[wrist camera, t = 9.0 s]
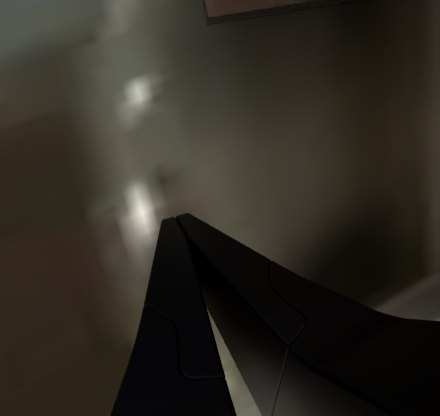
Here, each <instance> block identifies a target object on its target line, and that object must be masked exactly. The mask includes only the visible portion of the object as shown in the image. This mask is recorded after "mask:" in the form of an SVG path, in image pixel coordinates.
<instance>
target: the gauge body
mask: <svg viewBox="0 0 440 416" xmlns="http://www.w3.org/2000/svg"><path fill="white" fill-rule="evenodd" d="M353 1H359V0H203V4H204V9H205V15H206V20H207V25H210V24H217V23H223V22H229V21H235V20H241V19H248V18H254V17H260V16H266V15H272V14H279V13H285V12H291V11H297V10H303V9H310V8H316V7H322V6H328V5H334V4H341V3H347V2H353Z"/></svg>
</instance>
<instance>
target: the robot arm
mask: <svg viewBox="0 0 440 416" xmlns="http://www.w3.org/2000/svg"><path fill="white" fill-rule="evenodd" d="M206 307H207V308H208V310H209V312H210V314H211V316H212V318H213V320H214V322H215V324H216V326H217V328H218V330H219V332H220V334H221V336H222V338H223V340H224V342H225V344H226V346H227V348H228V350H229V352H230V354H231V356H232V358H233V360H234V361H235V363H236V365H237V367H238V369H239V371H240V373H241V375H242V377H243V379H244V381H245V383H246V385H247V387H248V389H249V391H250V393H251V395H252V397H253V399H254V401H255V403H256V405H257V407H258V409H259V411H260V413H261V414H262V416H440V321H429V320H416V319H406V318H400V317H395V316H391V315H388V314H384V313H381V312H378V311H376V310H373V309H371V308H369V307H366V306H364V305H362V304H360V303H358V302H355V301H353V300H351V299H349V298H346V297H344V296H342V295H340V294H338V293H335V292H333V291H331V290H329V289H327V288H324V287H322V286H320V285H318V284H316V283H314V282H312V281H309V280H307V279H305V278H303V277H301V276H299V275H297V274H295V273H294V272H292V271H290V270H288V269H286V268H284V267H282V266H281V265H279V264H277V263H275V262H274V261H270V260H269V259H268V258H266V257H265V256H263V255H261V254H259V253H258V252H256V251H254V250H252V249H251V248H249V247H247V246H245V245H244V244H242V243H240V242H238V241H237V240H235V239H233V238H231V237H230V236H228V235H226V234H224V233H223V232H221V231H219V230H217V229H216V228H214V227H212V226H210V225H209V224H207V223H205V222H203V221H202V220H200V219H198V218H196V217H195V216H193V215H191V214H189V213H185V214H181V215H178V216H176V218H175V217H170V218H167V219H163V220H162V222H161V227H160V232H159V236H158V241H157V246H156V250H155V255H154V260H153V265H152V269H151V274H150V279H149V284H148V288H147V293H146V298H145V302H144V307H143V311H142V316H141V321H140V325H139V329H138V333H137V337H136V341H135V344H134V347H133V350H132V353H131V357H130V360H129V363H128V366H127V369H126V372H125V375H124V378H123V380H122V383H121V386H120V389H119V392H118V395H117V398H116V400H115V403H114V406H113V409H112V412H111V415H110V416H237V415H236V412H235V409H234V406H233V402H232V399H231V396H230V392H229V389H228V385H227V382H226V380H225V374H224V370H223V367H222V363H221V359H220V356H219V352H218V348H217V345H216V341H215V337H214V334H213V330H212V326H211V323H210V319H209V315H208V312H207V308H206Z"/></svg>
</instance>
